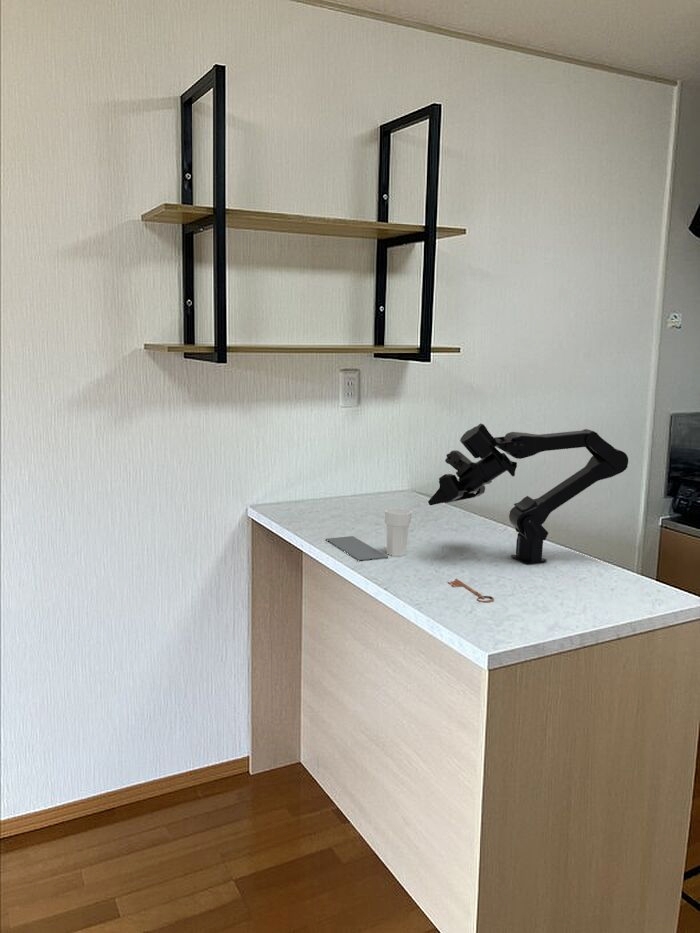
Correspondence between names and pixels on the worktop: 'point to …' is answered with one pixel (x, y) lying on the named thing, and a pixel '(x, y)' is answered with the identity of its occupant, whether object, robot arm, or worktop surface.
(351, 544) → the mat
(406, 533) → the cup
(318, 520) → the worktop surface
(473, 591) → the key
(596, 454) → the robot arm
